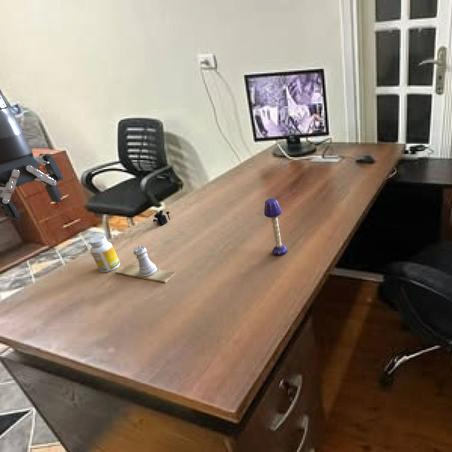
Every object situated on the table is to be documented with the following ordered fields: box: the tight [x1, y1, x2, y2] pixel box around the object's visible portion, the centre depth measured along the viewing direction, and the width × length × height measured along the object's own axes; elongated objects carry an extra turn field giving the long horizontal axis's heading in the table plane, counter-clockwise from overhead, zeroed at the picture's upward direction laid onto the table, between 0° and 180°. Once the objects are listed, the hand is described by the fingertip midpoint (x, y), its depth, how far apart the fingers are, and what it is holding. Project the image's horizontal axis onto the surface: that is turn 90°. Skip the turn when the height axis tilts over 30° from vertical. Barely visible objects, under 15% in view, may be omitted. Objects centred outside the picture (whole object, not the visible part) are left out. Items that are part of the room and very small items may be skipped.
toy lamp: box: [263, 198, 288, 257], centre depth 96 cm, size 5×5×17 cm
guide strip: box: [115, 263, 177, 284], centre depth 97 cm, size 18×4×1 cm, turn 70°
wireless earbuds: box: [152, 209, 171, 227], centre depth 122 cm, size 7×2×5 cm, turn 156°
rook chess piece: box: [132, 245, 158, 277], centre depth 94 cm, size 4×4×8 cm
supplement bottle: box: [88, 235, 121, 273], centre depth 99 cm, size 5×5×10 cm
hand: (37, 209), depth 75 cm, fingers open, 8 cm apart
